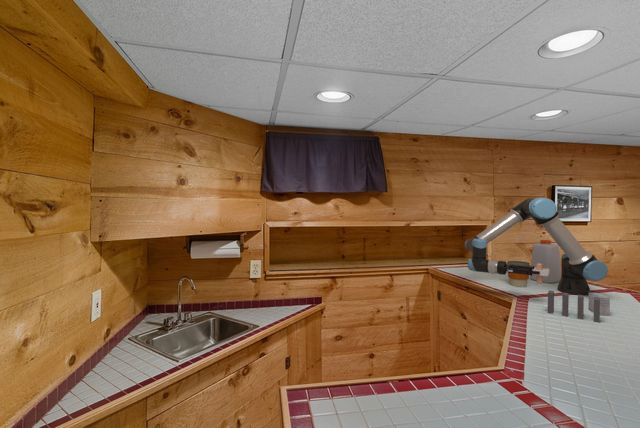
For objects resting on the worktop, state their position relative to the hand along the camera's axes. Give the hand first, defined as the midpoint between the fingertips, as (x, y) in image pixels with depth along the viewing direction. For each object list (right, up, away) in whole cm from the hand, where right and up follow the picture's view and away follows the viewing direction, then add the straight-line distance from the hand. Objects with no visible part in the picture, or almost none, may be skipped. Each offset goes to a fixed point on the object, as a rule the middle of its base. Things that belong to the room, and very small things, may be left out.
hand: (548, 272), depth 157 cm
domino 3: (+2, -18, -17) cm, 25 cm away
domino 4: (+6, -18, -21) cm, 28 cm away
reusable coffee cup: (+10, -16, +39) cm, 44 cm away
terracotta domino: (-3, -6, +3) cm, 7 cm away
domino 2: (-2, -17, -13) cm, 22 cm away
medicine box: (+16, -17, -11) cm, 26 cm away
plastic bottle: (+37, -16, +52) cm, 66 cm away
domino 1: (-6, -17, -10) cm, 21 cm away
